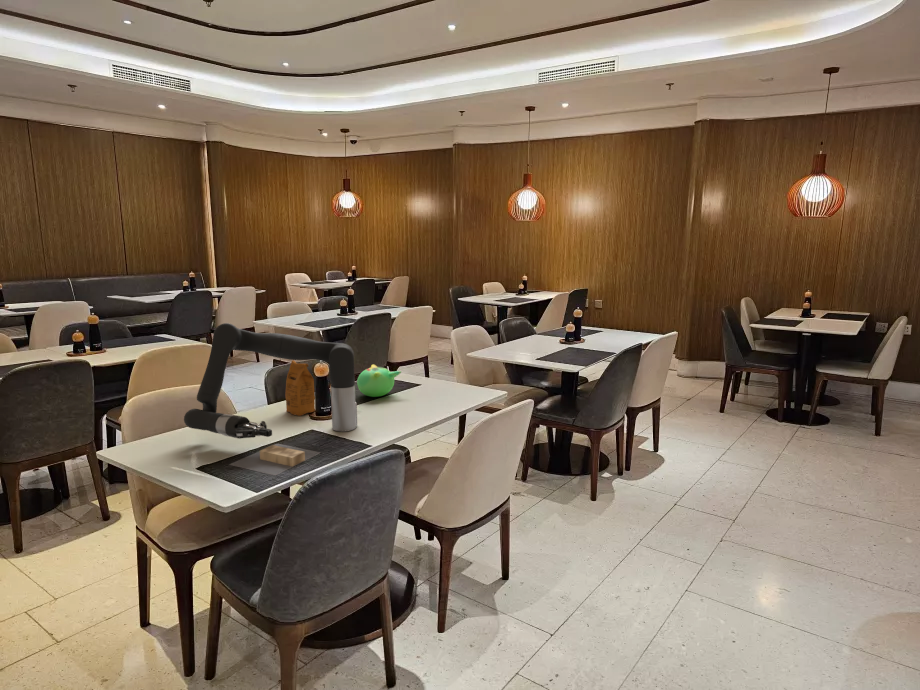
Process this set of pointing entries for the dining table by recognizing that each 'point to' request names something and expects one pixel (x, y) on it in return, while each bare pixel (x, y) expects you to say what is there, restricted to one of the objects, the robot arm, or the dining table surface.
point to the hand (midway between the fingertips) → (270, 433)
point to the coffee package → (299, 390)
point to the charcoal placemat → (269, 467)
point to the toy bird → (376, 381)
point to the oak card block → (282, 455)
